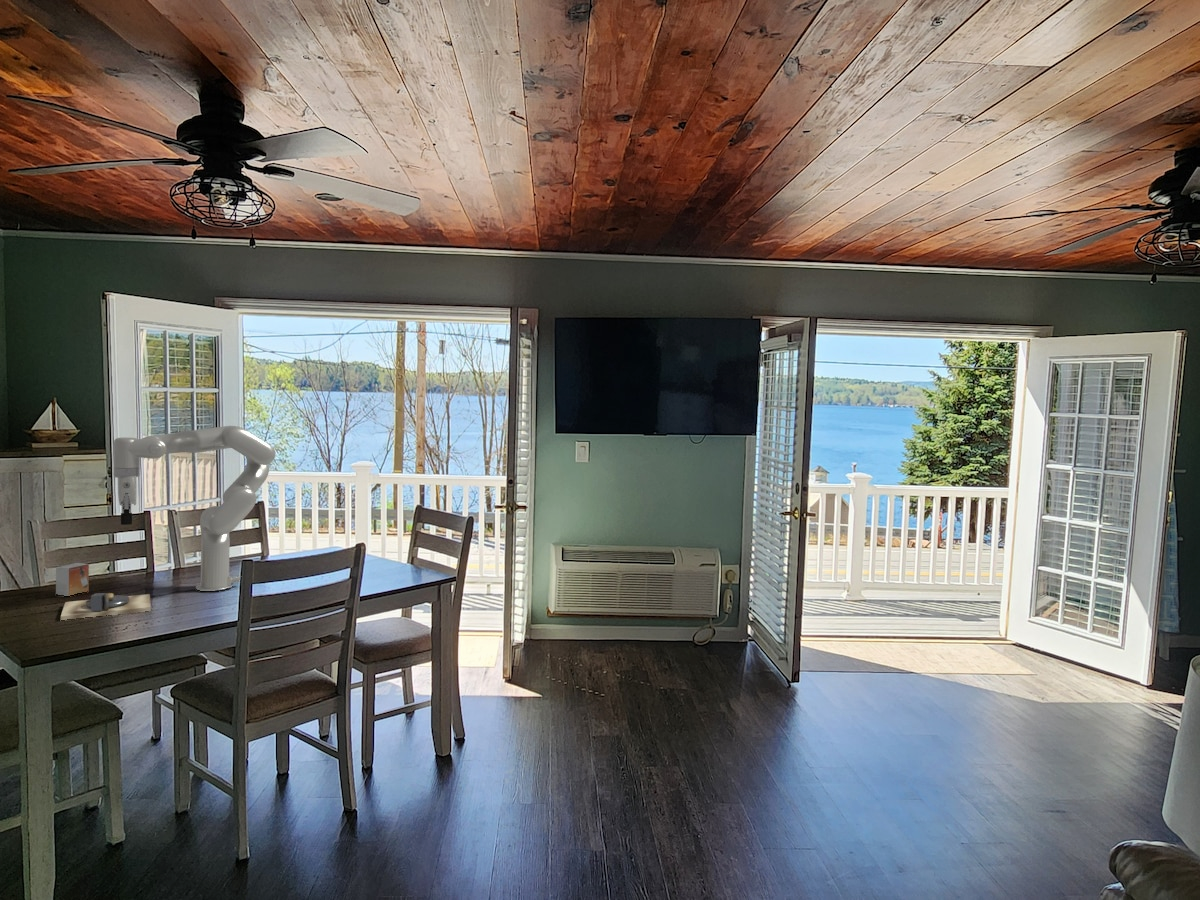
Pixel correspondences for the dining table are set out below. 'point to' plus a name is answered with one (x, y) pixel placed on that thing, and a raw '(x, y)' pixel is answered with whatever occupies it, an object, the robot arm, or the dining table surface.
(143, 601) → the post board
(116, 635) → the dining table surface
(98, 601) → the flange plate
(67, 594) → the small box
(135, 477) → the robot arm
